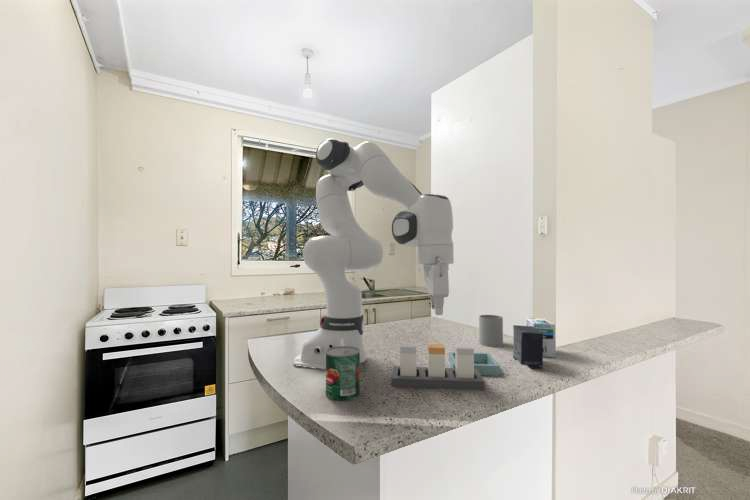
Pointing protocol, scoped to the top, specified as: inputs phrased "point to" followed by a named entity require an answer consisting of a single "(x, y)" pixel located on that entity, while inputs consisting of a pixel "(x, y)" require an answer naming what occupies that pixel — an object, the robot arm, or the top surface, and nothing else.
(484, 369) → the tray
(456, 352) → the block
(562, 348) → the top surface
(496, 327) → the cup
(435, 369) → the block
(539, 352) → the small box
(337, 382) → the canned tomato
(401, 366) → the block
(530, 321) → the light bulb box
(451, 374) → the block
